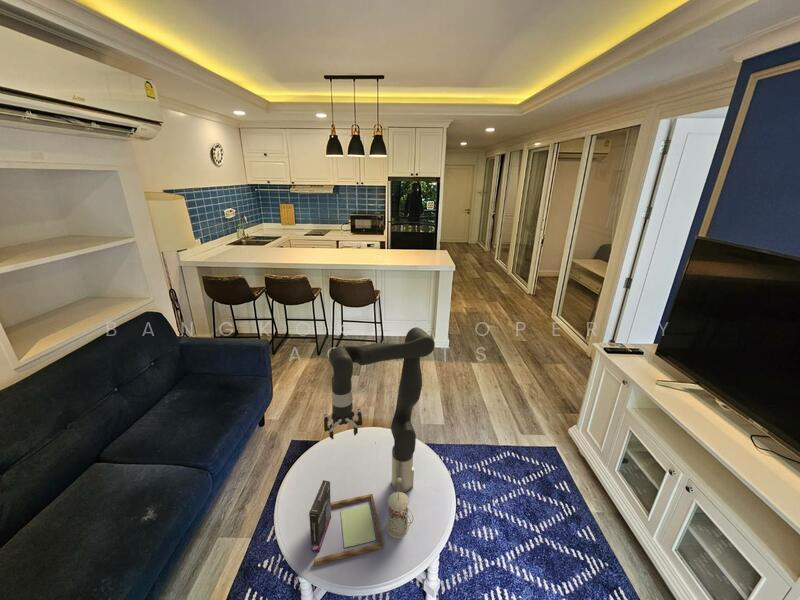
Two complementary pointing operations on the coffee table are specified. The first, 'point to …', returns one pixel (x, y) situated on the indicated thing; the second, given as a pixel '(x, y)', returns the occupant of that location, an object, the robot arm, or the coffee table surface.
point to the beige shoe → (398, 514)
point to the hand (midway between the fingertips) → (343, 435)
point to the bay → (355, 529)
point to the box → (320, 516)
